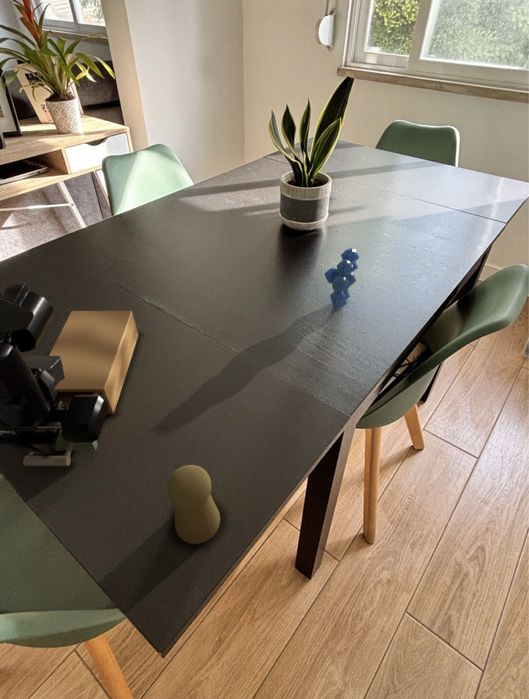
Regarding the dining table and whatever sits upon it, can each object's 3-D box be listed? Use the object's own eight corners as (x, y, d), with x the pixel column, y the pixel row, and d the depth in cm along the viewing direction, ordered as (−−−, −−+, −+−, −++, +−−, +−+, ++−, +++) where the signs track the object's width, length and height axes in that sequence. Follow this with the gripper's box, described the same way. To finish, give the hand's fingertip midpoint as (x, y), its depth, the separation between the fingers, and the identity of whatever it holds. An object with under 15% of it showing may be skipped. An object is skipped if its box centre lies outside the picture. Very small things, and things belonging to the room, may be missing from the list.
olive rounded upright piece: (201, 553, 54) (191, 514, 47) (165, 528, 56) (150, 487, 49) (229, 513, 58) (223, 471, 50) (194, 491, 60) (183, 448, 52)
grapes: (329, 282, 97) (335, 234, 89) (358, 289, 95) (367, 240, 87) (313, 312, 89) (319, 262, 81) (345, 320, 87) (353, 270, 79)
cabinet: (113, 413, 70) (104, 389, 66) (45, 413, 70) (31, 389, 66) (138, 335, 84) (131, 310, 79) (81, 335, 84) (71, 310, 79)
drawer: (87, 476, 61) (77, 458, 58) (17, 476, 61) (4, 458, 58) (124, 363, 77) (118, 344, 74) (69, 363, 77) (61, 344, 74)
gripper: (104, 334, 56) (130, 408, 66) (-39, 333, 56) (10, 408, 66) (77, 400, 48) (111, 473, 58) (-91, 400, 48) (-25, 473, 58)
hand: (51, 453), depth 61 cm, fingers closed, pressing on drawer
